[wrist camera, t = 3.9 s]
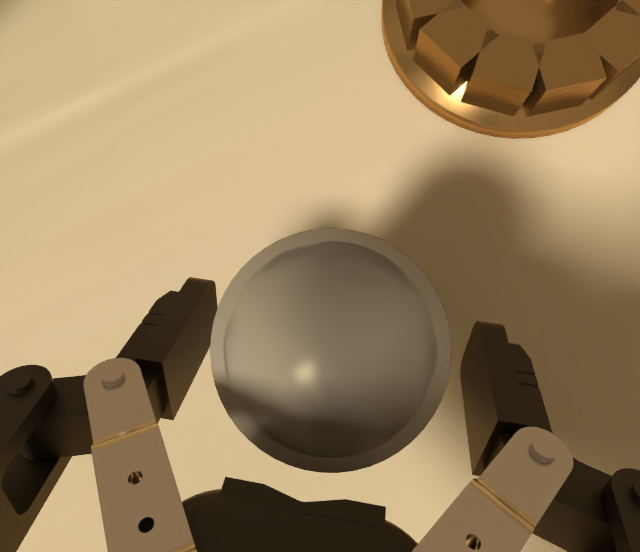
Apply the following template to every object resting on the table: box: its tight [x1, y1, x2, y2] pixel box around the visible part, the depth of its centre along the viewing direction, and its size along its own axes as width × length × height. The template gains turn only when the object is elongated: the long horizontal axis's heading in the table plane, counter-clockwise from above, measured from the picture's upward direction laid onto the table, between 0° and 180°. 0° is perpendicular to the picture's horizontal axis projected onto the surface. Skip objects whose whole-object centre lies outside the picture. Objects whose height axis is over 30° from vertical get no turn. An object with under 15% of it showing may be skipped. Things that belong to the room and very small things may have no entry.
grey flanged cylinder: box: [210, 228, 452, 473], centre depth 15 cm, size 5×5×9 cm
